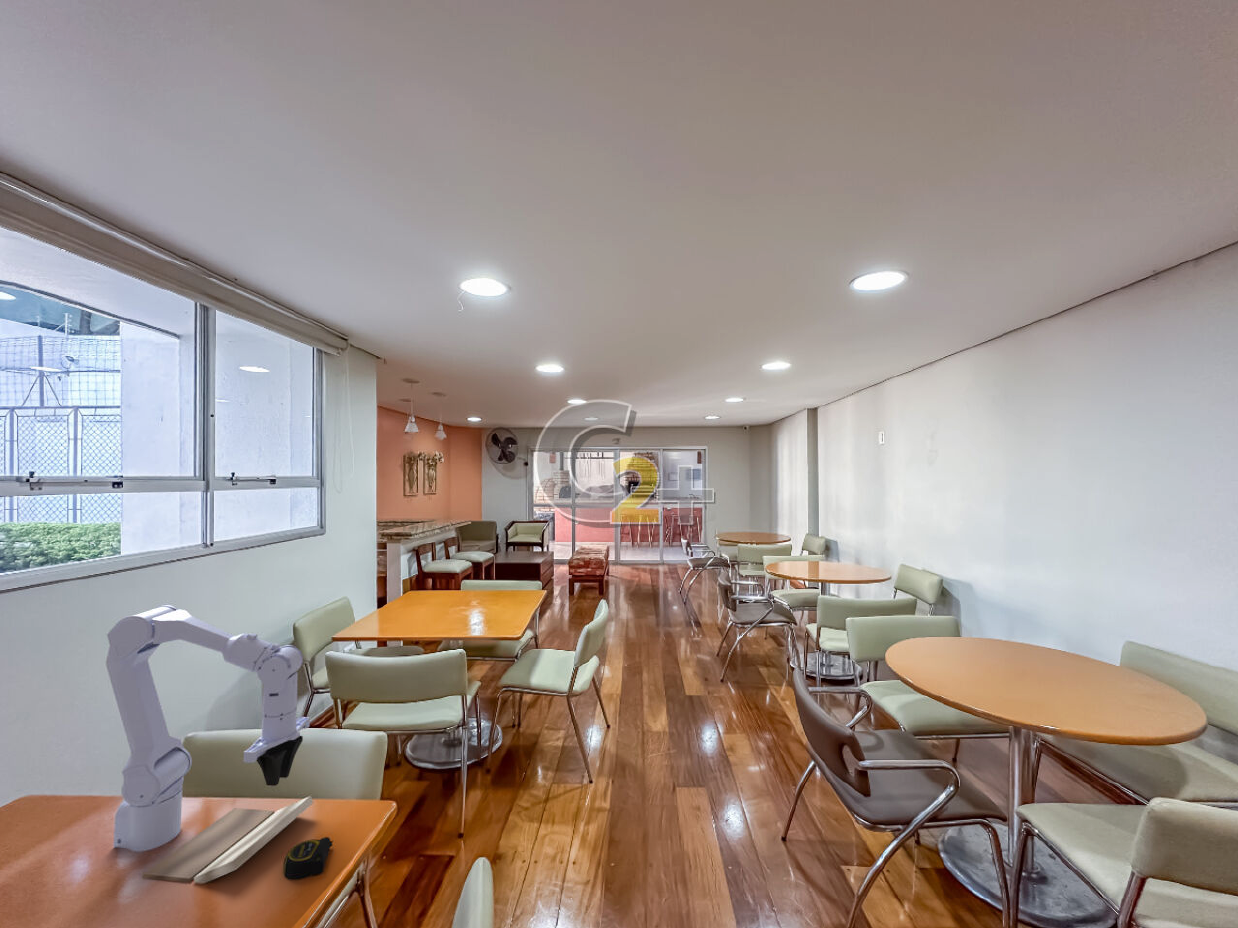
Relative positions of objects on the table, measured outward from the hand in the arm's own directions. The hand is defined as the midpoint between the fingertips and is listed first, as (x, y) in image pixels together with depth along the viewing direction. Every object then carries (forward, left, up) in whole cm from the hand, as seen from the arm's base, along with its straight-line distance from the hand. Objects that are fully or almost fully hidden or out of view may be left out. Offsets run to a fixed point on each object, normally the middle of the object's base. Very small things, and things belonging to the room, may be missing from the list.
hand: (277, 780), depth 100 cm
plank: (+2, -6, -7) cm, 10 cm away
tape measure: (+14, -9, -10) cm, 19 cm away
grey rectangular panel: (-7, -6, -9) cm, 13 cm away
